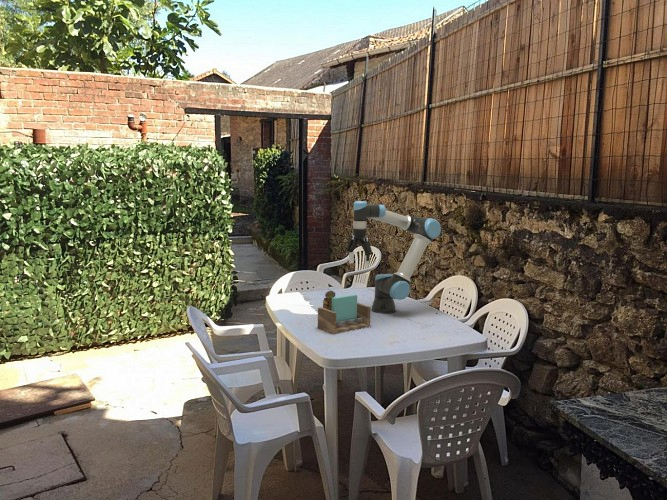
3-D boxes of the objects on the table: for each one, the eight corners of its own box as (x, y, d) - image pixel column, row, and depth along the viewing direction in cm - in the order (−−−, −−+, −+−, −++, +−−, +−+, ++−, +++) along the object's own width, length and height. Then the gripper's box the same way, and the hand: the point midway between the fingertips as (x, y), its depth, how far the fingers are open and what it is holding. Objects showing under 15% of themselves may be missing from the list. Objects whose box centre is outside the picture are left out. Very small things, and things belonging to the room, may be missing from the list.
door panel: (353, 322, 302) (354, 294, 300) (356, 323, 301) (357, 295, 298) (331, 326, 293) (331, 297, 291) (333, 327, 291) (334, 298, 289)
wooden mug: (322, 321, 309) (322, 290, 307) (320, 315, 323) (320, 285, 320) (337, 320, 310) (338, 290, 308) (334, 314, 324) (335, 285, 321)
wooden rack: (354, 321, 310) (354, 301, 309) (370, 326, 299) (370, 306, 298) (317, 328, 295) (317, 307, 293) (332, 334, 284) (333, 313, 282)
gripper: (341, 226, 314) (340, 262, 317) (369, 230, 295) (368, 268, 298) (351, 226, 319) (350, 261, 322) (379, 229, 299) (378, 267, 302)
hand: (359, 264), depth 310 cm, fingers open, 13 cm apart
